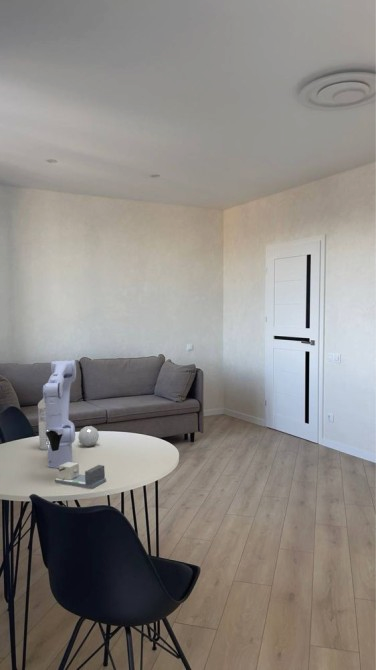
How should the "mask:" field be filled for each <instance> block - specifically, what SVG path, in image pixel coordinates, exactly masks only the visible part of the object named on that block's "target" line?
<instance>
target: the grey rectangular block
mask: <svg viewBox="0 0 376 670" xmlns="http://www.w3.org/2000/svg"><path fill="white" fill-rule="evenodd" d="M105 472H106V471H105V465H103V464H98V465H96V466H94V467H92V468H89V469H87V470H85V471H84V475H85V484H86V485H93V484H95V483H96V482H98V481H100V480H102V479H104V478H106V476H105V474H106V473H105Z"/></svg>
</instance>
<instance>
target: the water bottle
mask: <svg viewBox="0 0 376 670" xmlns="http://www.w3.org/2000/svg"><path fill="white" fill-rule="evenodd" d="M37 408H38V410H37V411H38V412H37V413H38V439H39V441H38V442H39V450H41V451H48V447H49V446H50V442H49V439H48V437H47V435H46V432H49V430H47V429H46V406H45V403H44V396H43V395H42V399H41V400H40V401H39V402H38V403H37Z"/></svg>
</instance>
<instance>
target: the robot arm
mask: <svg viewBox="0 0 376 670" xmlns="http://www.w3.org/2000/svg"><path fill="white" fill-rule="evenodd" d="M50 373H51V375H50V376H49V379H48V381H47V383H45V384H43V387H42V397H43V396H44V403H45V406H46V429H47V430H49V432H46V435H47V437H48V439H49V442H50V446H49V447H48V450H47V465H46V467H47V468H55V469H59V466H60V465H62V464H64V463H67V462H73V463H78V462H77V461H73V446H72V444H74V442H75V441H76V425H75V423H73V421H71V420H69V419H70V417H69V415H70V397H71V387H72V383H74V382H75V381H76V378H77V362H76V360H75V359H71V360H70V359H68V360H52V361H51V363H50Z"/></svg>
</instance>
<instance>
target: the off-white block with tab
mask: <svg viewBox="0 0 376 670" xmlns="http://www.w3.org/2000/svg"><path fill="white" fill-rule="evenodd" d="M73 462H74V461H72V462H67V463H64V464H62V465H60V466H59V468H58V470H59V471H58V472H59V477H60V478H62V479H69V480H71V479H73V478H75V477H77V476H79V474H80V464H79V462H77V463H73Z"/></svg>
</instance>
